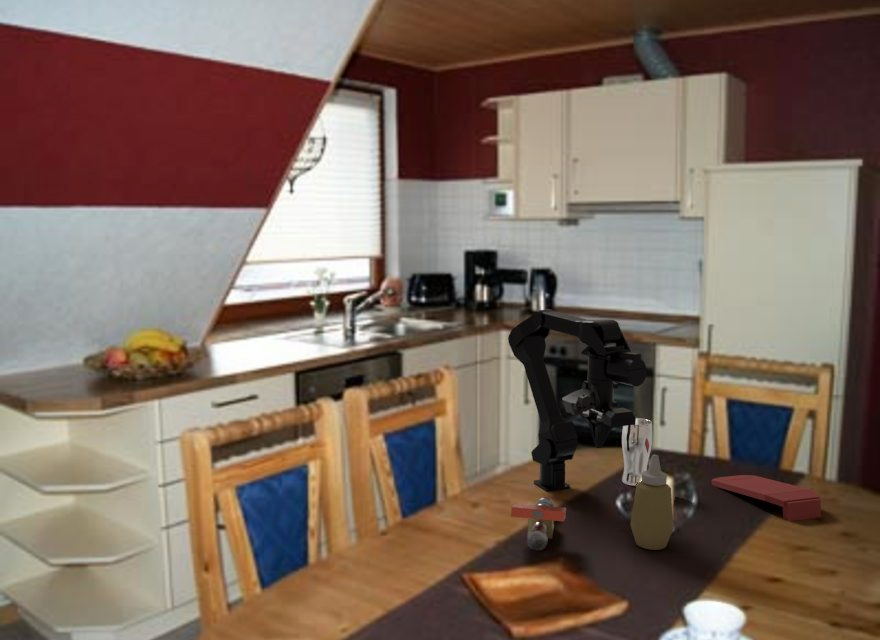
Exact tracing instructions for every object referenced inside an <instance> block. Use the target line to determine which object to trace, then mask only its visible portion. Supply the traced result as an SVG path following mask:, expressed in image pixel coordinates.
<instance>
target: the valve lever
mask: <svg viewBox="0 0 880 640" xmlns="http://www.w3.org/2000/svg"><path fill="white" fill-rule="evenodd" d="M510 509H511V510H510V517H511V518H522V519H528V518H531V519H542V520H553V521H554V522H565V520H566V519H567V517H566V516H567V507H560V506H555V507H550V506H548V504H538V503H536V502H535V504H527V503H525V504H524V503H514V504H513V505H512V506H511V508H510Z"/></svg>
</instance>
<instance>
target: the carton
mask: <svg viewBox="0 0 880 640" xmlns="http://www.w3.org/2000/svg"><path fill="white" fill-rule="evenodd" d="M711 485H712V486H714V487H715V488H720V489H723V490H725V491H731V492H733V493H736V494H740V495H744V496H747V497H751V498H753V499H757V500H760V501H764V502H768V503H770V504H772V505H776V506H779V507H781V508H782V517H783V519H785V520H787V521H789V522H793V521H801V520H807V519H815V518H816V517H817V518H822V509H821V508H822V506H821V502H822V501H821V499H820V498H821V497H820V496H819V495H818V494H817V493H816V492H815V491H813V490H812V489H809V488H806V487H801V486H798V485H795V484H792V483H791V484H790V483H786V482H782V481H778V480H774V479H770V478H765V477H761V476H758V475H754V474H753V475H752V474H751V475H749V474H747V475H746V474H741V475H740V474H739V475H729V476H719V477H714V478H713V479H711Z"/></svg>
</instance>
